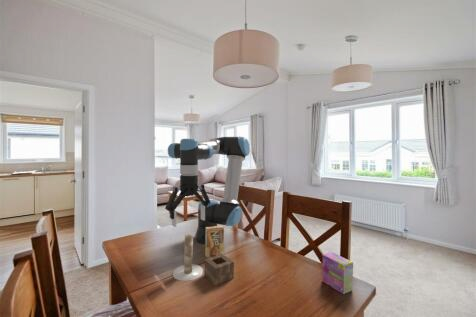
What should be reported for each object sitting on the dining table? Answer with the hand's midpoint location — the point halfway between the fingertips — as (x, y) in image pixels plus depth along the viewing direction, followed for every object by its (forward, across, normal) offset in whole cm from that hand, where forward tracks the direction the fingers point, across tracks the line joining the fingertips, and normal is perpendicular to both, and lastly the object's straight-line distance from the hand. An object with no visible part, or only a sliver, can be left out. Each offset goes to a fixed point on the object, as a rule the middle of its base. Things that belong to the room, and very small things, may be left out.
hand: (189, 222), depth 98 cm
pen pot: (+23, -8, +11) cm, 27 cm away
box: (+24, -45, +44) cm, 67 cm away
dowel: (+22, +1, 0) cm, 22 cm away
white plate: (+23, +1, 0) cm, 23 cm away
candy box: (+24, -17, -7) cm, 30 cm away
